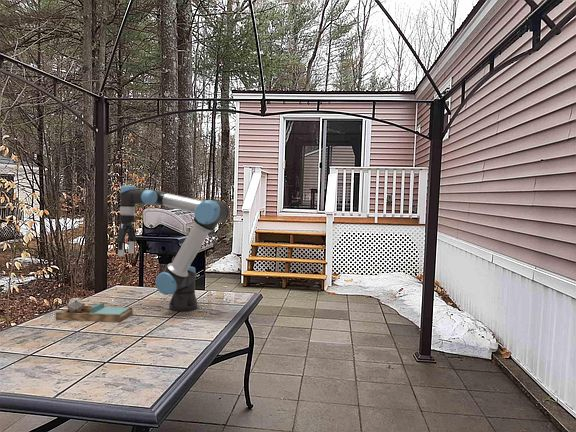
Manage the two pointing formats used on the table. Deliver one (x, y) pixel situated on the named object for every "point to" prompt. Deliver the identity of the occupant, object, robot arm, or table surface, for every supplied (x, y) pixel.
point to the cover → (107, 310)
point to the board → (92, 315)
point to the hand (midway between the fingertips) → (126, 254)
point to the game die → (75, 305)
